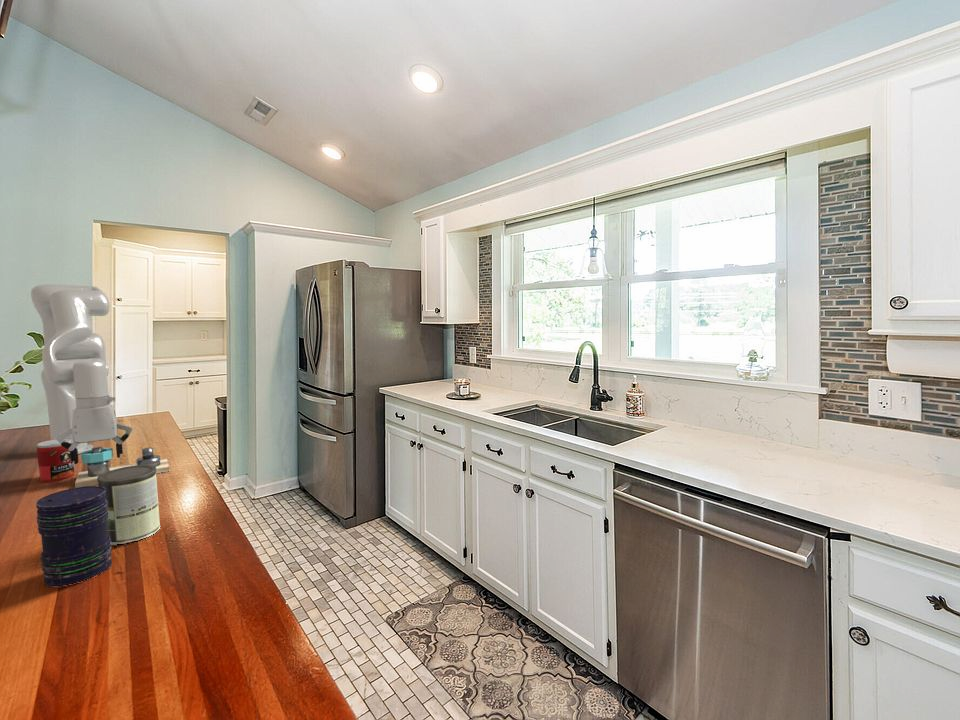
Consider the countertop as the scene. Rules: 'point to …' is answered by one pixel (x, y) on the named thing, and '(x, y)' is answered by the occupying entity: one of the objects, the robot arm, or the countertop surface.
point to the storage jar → (74, 535)
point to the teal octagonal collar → (97, 456)
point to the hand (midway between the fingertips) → (98, 459)
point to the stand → (97, 465)
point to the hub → (148, 458)
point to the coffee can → (131, 503)
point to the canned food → (54, 461)
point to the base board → (88, 481)
